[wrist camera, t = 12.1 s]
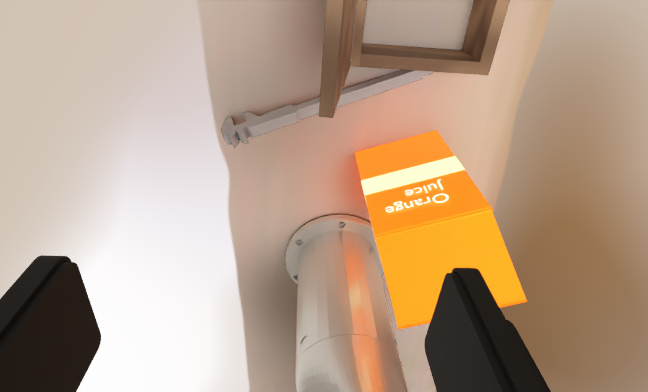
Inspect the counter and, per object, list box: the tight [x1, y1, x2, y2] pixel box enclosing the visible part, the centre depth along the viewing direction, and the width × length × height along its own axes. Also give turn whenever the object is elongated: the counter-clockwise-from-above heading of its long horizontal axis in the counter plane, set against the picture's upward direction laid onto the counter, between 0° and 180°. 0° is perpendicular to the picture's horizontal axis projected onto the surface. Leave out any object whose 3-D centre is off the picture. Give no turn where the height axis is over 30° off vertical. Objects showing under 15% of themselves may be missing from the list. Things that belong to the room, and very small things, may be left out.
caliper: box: [221, 70, 433, 148], centre depth 36 cm, size 20×1×6 cm, turn 105°
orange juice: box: [355, 131, 527, 329], centre depth 35 cm, size 8×9×20 cm
